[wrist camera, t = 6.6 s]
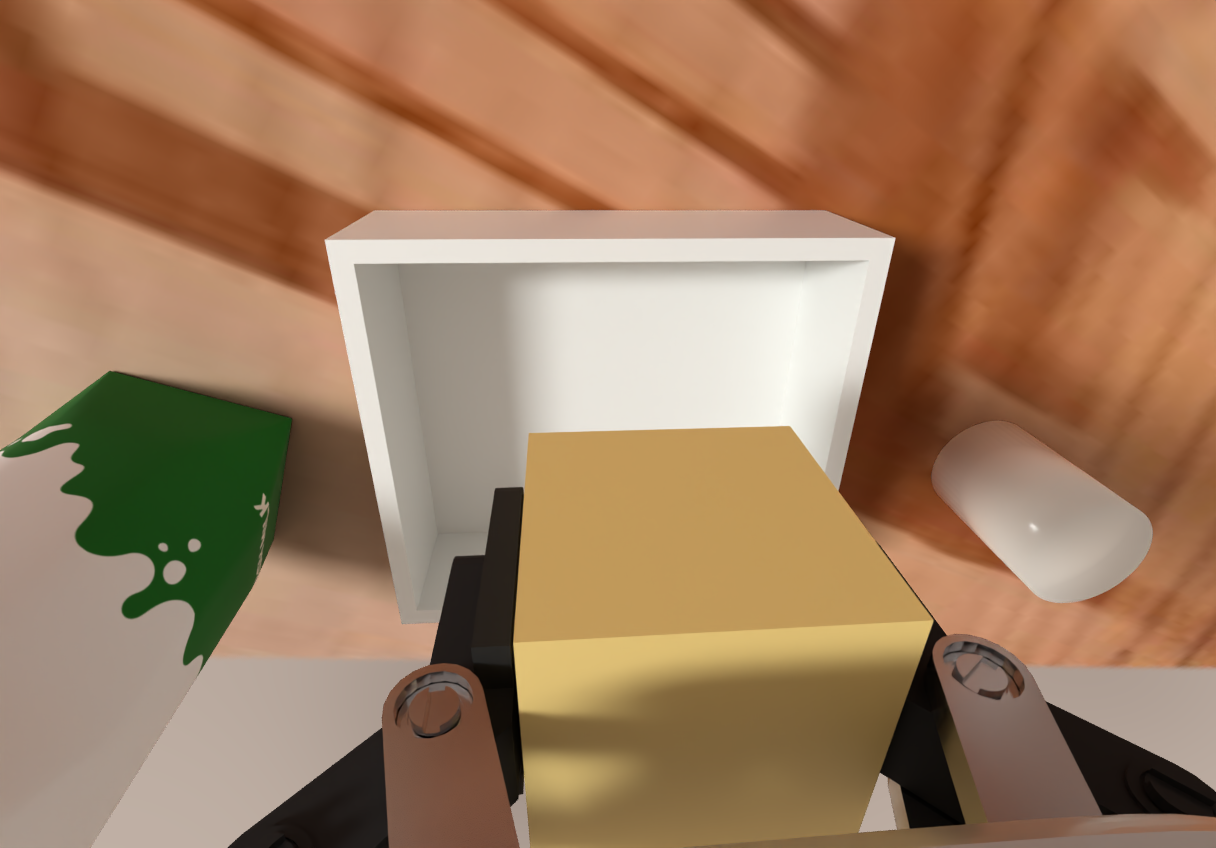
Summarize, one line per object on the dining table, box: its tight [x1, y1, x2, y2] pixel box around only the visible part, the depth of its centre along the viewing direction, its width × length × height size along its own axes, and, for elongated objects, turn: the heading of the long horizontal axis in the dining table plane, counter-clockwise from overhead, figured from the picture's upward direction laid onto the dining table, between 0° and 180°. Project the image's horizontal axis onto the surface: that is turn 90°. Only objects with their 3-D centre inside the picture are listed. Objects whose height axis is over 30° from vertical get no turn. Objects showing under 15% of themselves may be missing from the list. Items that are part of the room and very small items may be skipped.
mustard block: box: [513, 426, 934, 848], centre depth 10 cm, size 5×5×5 cm
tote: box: [325, 210, 895, 624], centre depth 24 cm, size 17×15×6 cm
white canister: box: [931, 421, 1153, 603], centre depth 27 cm, size 5×5×7 cm
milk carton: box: [0, 371, 292, 848], centre depth 18 cm, size 9×9×20 cm
